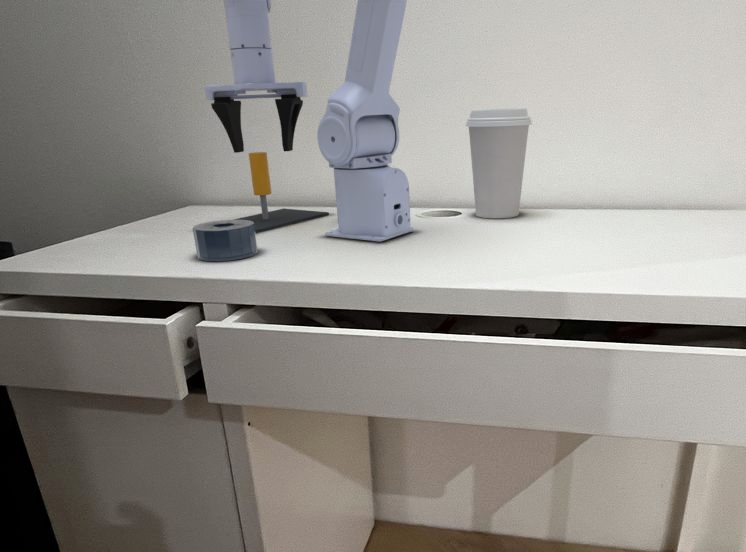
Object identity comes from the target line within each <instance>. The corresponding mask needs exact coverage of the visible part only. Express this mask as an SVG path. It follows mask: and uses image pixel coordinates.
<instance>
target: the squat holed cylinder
mask: <svg viewBox="0 0 746 552" xmlns="http://www.w3.org/2000/svg"><path fill="white" fill-rule="evenodd" d="M192 232H193V239H194V240H193V241H194V245H195V250H196V255H197V258H198V260H201V261H203V262H229V261H230V262H232V261H238V260H243V259H248V258H250V257H253V256H255V255H257V254H258V241H257V235H256V234H257V233H255V226H254V222H252V221H249V220H234V219H221V220H213V221H207V222H206V221H205V222H201V223H197V224H195V225H194V226H193V227H192Z"/></svg>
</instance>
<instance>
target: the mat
mask: <svg viewBox="0 0 746 552" xmlns="http://www.w3.org/2000/svg"><path fill="white" fill-rule="evenodd" d="M329 215H330V212H329V211H318V210H306V209H293V208H279V209H276V210H271V211H268V216H269V219H268V220H263V216H262V212H261V213H257V214H253V215H252V214H251V215H247V216H244V217H239V218H233V220H249V221H252V222H254V226H255V234H257V233H261V232H265V231H266V232H267V231H269V230H274V229H277V228H281V227H286V226H290V225H294V224H297V223H301V222H306V221H310V220H313V219H318V218H322V217H325V216H329Z"/></svg>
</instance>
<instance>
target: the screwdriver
mask: <svg viewBox="0 0 746 552" xmlns="http://www.w3.org/2000/svg"><path fill="white" fill-rule="evenodd" d="M248 159H249V165H250V166H249V167H250V176H251V183H252V191H253V196H259V200H260V206H261V213H262V216H263V220H268V219H269V216H268V212H269V207H268V200H267V196H269V195H272V187H271V177H270V169H269V160H268V153H267V152H266V151H258V152H257V151H255V152H249V153H248Z"/></svg>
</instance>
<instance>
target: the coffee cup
mask: <svg viewBox="0 0 746 552" xmlns="http://www.w3.org/2000/svg"><path fill="white" fill-rule="evenodd" d="M531 125H533V121H532V119H531V116H530V115H529V113H528V109H527V108H492V109H491V108H489V109H471V111H470V114H469V117H468V118H467V120H466V123H465V127H468V135H469V145H470V146H469V147H470V157H471V169H472V171H471V173H472V184H473V195H474V197H473V198H474V207H475V216H476V217H478V218H483V219H510V218H515V217H518V216H519V215H520V208H521V207H520V206H521V197H522V189H523V178H524V169H525V161H526V152H527V143H528V135H529V128H530V126H531Z"/></svg>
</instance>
